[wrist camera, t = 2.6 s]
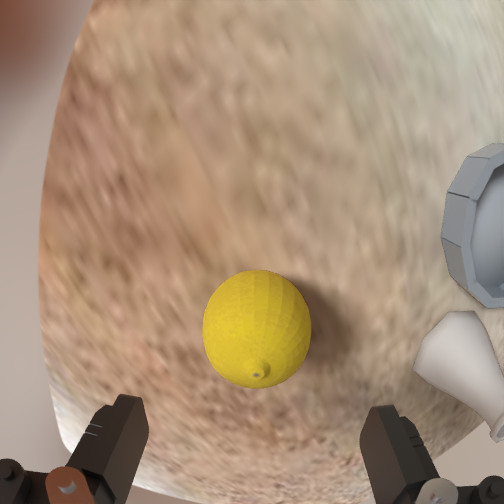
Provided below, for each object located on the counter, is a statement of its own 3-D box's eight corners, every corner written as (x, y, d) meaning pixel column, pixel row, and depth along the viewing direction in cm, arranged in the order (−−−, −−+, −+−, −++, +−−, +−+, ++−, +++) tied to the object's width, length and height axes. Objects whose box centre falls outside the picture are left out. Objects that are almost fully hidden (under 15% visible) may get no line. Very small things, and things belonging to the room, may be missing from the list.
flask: (450, 386, 22) (499, 460, 13) (396, 373, 22) (446, 466, 12) (494, 320, 20) (562, 383, 11) (445, 296, 20) (526, 371, 10)
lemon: (202, 314, 20) (174, 396, 12) (232, 238, 19) (214, 294, 11) (279, 342, 21) (287, 429, 13) (316, 271, 19) (348, 342, 11)
